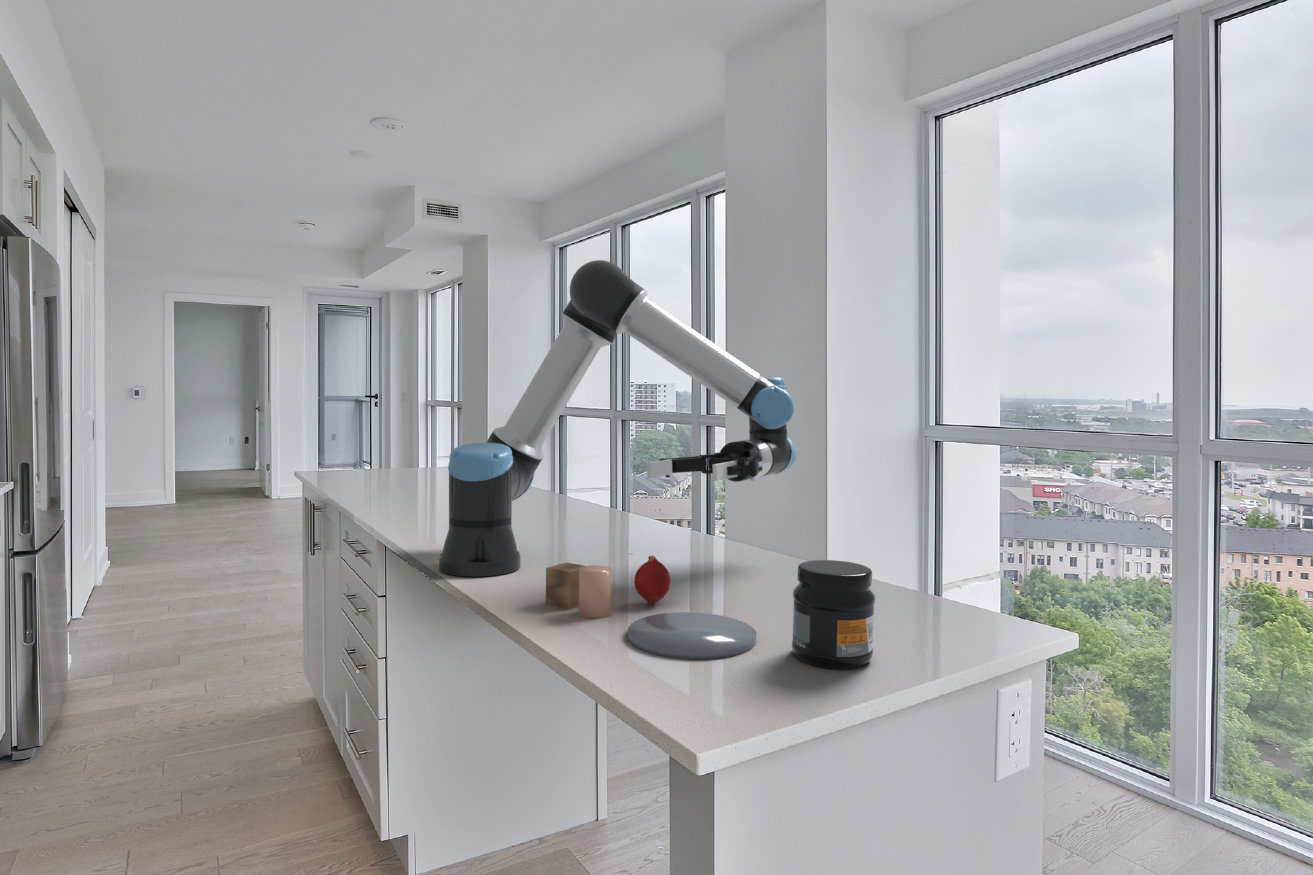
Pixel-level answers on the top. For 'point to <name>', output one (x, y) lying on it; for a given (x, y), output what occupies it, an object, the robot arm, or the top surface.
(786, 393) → the robot arm
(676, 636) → the slate plate
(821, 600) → the supplement container
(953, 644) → the top surface
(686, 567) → the top surface
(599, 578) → the cylinder
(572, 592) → the walnut block
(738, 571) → the top surface
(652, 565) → the red pomegranate
